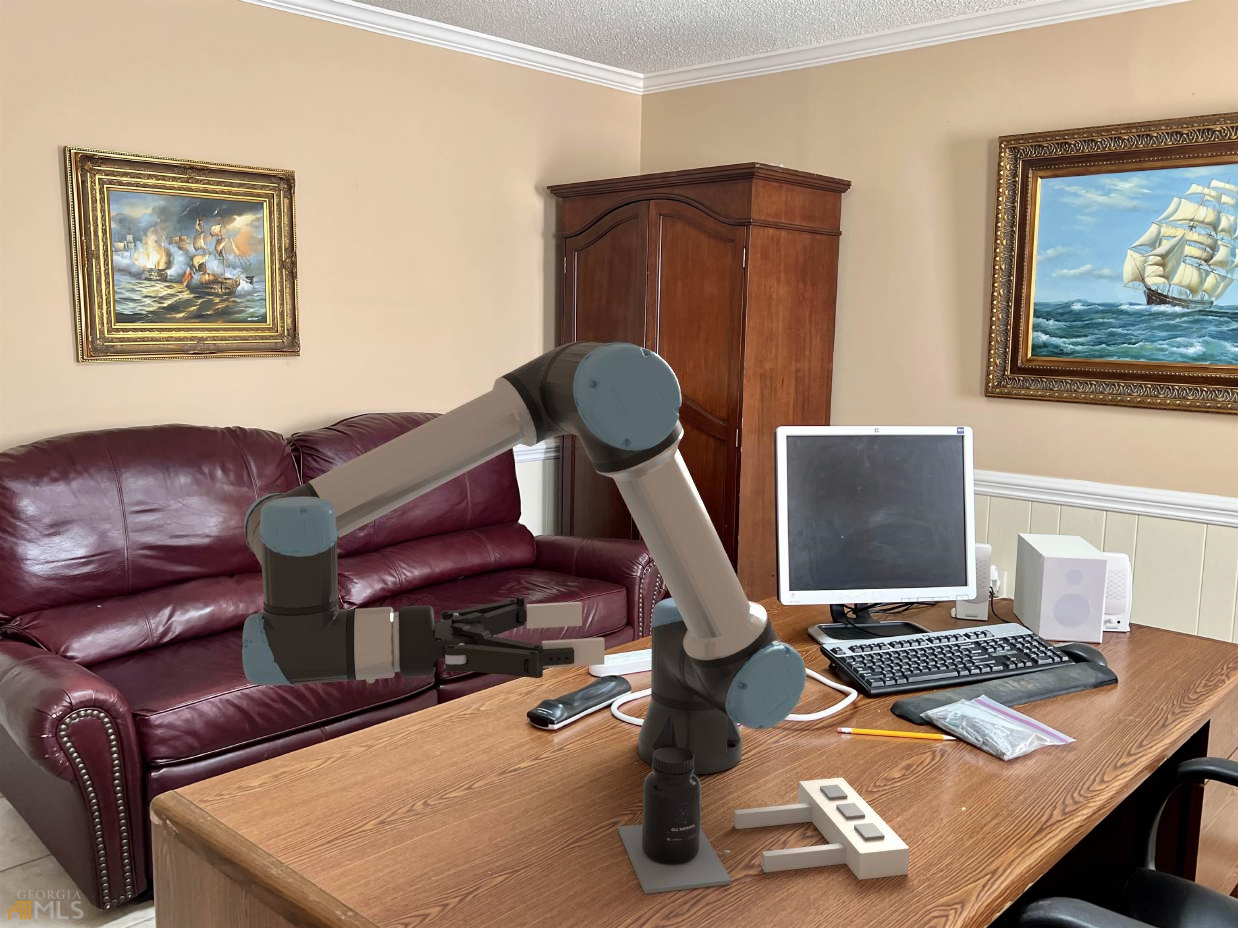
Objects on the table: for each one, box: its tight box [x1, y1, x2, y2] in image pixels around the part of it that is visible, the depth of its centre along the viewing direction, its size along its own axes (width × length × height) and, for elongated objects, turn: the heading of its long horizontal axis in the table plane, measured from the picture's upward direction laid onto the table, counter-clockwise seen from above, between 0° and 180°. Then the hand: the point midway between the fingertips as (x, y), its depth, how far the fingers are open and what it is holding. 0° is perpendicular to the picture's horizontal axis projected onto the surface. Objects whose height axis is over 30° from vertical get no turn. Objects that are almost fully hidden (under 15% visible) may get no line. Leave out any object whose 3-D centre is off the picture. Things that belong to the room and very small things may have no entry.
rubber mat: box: [617, 823, 732, 895], centre depth 118 cm, size 14×10×1 cm
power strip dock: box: [733, 777, 910, 881], centre depth 121 cm, size 18×16×4 cm
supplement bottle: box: [641, 747, 702, 865], centre depth 117 cm, size 7×7×12 cm
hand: (592, 631), depth 112 cm, fingers open, 13 cm apart
